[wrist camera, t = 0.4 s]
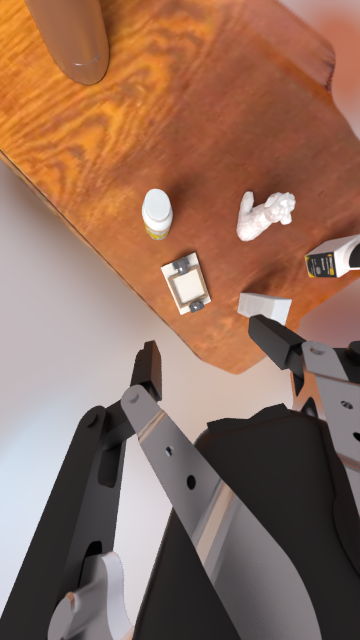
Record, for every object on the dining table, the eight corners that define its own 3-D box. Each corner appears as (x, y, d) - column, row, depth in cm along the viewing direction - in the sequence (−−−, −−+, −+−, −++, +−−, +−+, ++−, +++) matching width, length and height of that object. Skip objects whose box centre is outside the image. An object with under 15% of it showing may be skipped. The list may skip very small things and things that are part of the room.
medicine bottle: (303, 255, 37) (367, 246, 26) (325, 240, 37) (400, 225, 25) (308, 277, 39) (368, 278, 28) (329, 263, 39) (398, 259, 28)
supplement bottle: (164, 244, 30) (167, 231, 21) (142, 233, 29) (135, 214, 20) (173, 220, 29) (179, 195, 20) (149, 207, 28) (146, 174, 19)
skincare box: (249, 312, 40) (284, 326, 29) (236, 312, 39) (268, 326, 28) (253, 292, 38) (293, 298, 27) (240, 292, 37) (275, 298, 26)
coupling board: (160, 267, 32) (160, 267, 30) (193, 253, 32) (196, 251, 30) (180, 313, 36) (181, 315, 35) (209, 300, 37) (212, 302, 35)
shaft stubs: (171, 263, 31) (172, 262, 29) (185, 257, 31) (187, 256, 29) (190, 310, 36) (192, 313, 33) (201, 305, 36) (204, 307, 33)
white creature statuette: (271, 218, 32) (331, 188, 21) (251, 252, 34) (296, 240, 23) (243, 193, 30) (296, 142, 18) (223, 230, 32) (259, 205, 20)
